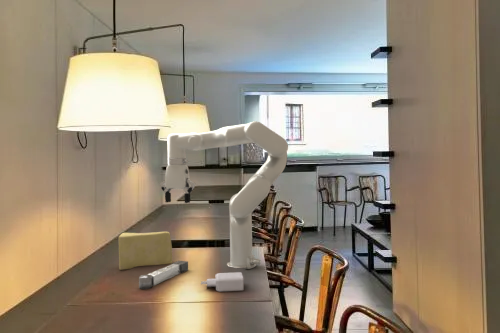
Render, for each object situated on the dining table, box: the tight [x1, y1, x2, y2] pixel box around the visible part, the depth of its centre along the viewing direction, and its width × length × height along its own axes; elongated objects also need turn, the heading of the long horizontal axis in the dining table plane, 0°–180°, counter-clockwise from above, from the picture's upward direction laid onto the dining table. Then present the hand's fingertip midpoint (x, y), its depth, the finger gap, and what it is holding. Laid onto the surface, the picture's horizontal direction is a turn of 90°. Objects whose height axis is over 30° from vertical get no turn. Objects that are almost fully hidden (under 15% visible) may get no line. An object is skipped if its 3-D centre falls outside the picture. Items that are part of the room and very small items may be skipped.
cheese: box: [118, 231, 173, 271], centre depth 184 cm, size 22×10×15 cm, turn 96°
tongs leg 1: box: [146, 260, 184, 275], centre depth 164 cm, size 22×2×4 cm, turn 156°
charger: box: [200, 271, 244, 293], centre depth 152 cm, size 5×9×15 cm
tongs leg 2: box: [151, 260, 189, 287], centre depth 163 cm, size 22×2×4 cm, turn 157°
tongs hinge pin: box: [138, 274, 152, 290], centre depth 151 cm, size 4×4×4 cm
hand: (177, 202), depth 180 cm, fingers open, 9 cm apart
